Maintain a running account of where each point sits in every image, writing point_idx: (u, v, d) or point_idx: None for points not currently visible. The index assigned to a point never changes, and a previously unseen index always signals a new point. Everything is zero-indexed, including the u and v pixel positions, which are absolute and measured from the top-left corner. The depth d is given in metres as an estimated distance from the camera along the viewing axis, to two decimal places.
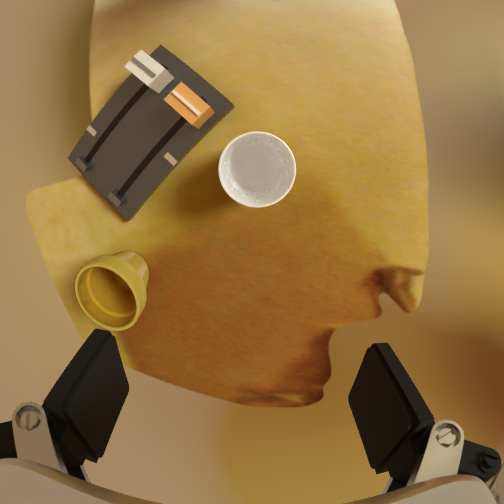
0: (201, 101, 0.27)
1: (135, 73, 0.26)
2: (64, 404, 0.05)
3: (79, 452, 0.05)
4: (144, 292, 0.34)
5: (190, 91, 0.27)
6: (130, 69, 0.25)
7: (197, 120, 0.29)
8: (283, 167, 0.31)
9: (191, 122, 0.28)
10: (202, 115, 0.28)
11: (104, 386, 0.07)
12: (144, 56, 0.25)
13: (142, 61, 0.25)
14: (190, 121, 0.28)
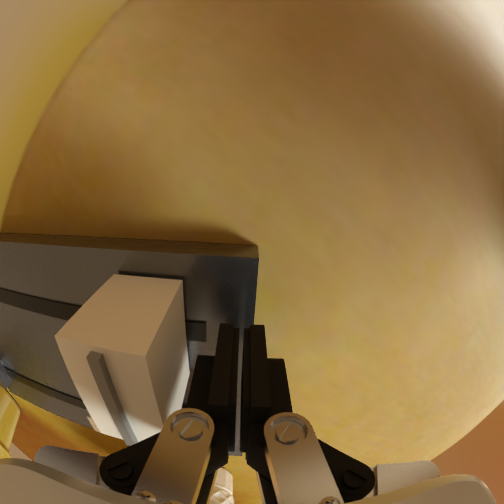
0: None
1: (81, 389, 0.07)
2: (230, 400, 0.06)
3: None
4: None
5: None
6: (70, 366, 0.06)
7: None
8: None
9: None
10: None
11: None
12: (139, 387, 0.06)
13: (121, 393, 0.06)
14: None
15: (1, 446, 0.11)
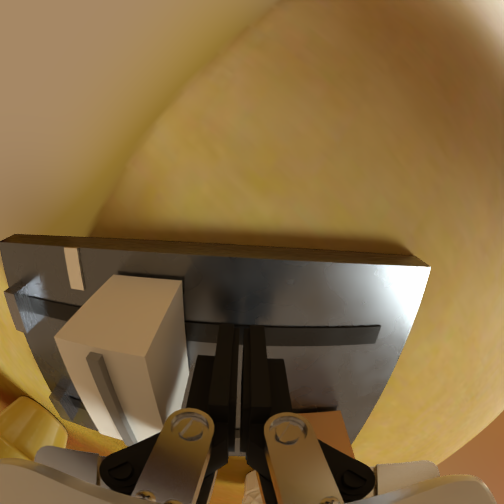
0: None
1: (80, 390, 0.07)
2: (230, 400, 0.06)
3: None
4: None
5: None
6: (69, 367, 0.06)
7: None
8: None
9: None
10: None
11: None
12: (138, 387, 0.06)
13: (120, 393, 0.06)
14: None
15: None
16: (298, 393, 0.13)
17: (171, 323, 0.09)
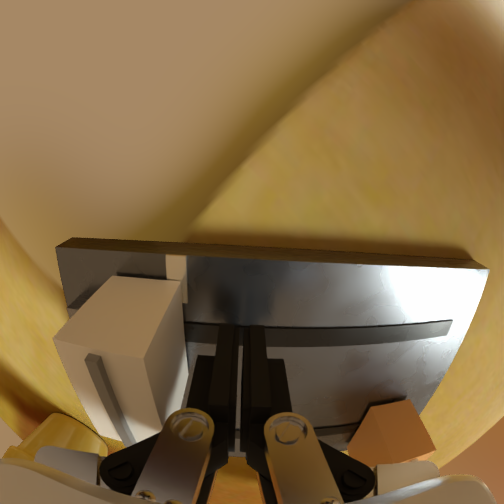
0: None
1: (79, 392, 0.07)
2: (230, 400, 0.06)
3: None
4: None
5: None
6: (68, 369, 0.06)
7: None
8: None
9: None
10: None
11: None
12: (137, 389, 0.06)
13: (119, 395, 0.06)
14: None
15: None
16: (382, 386, 0.13)
17: (170, 324, 0.09)
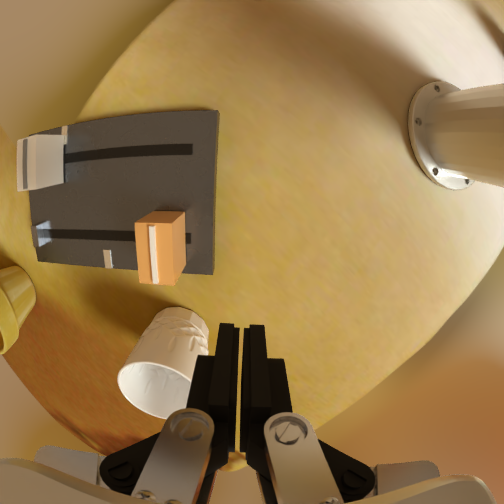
0: (170, 271, 0.20)
1: (17, 162, 0.17)
2: (230, 400, 0.06)
3: None
4: (15, 340, 0.22)
5: (170, 247, 0.20)
6: (17, 151, 0.16)
7: None
8: None
9: (141, 280, 0.21)
10: None
11: None
12: (33, 149, 0.17)
13: (28, 154, 0.17)
14: (141, 278, 0.21)
15: (14, 314, 0.22)
16: (155, 192, 0.23)
17: (52, 142, 0.19)
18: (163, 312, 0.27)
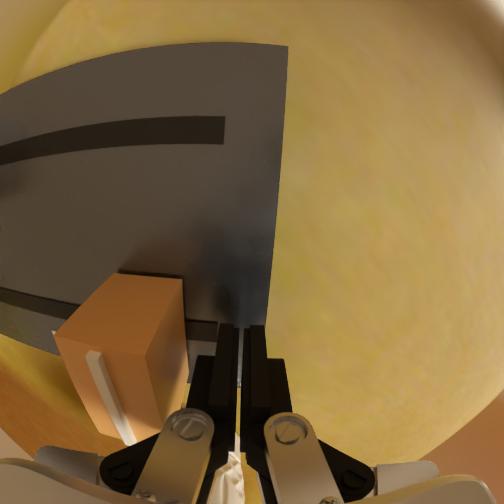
0: None
1: None
2: (230, 400, 0.06)
3: None
4: None
5: (149, 399, 0.07)
6: None
7: None
8: None
9: (101, 430, 0.07)
10: None
11: None
12: None
13: None
14: (100, 428, 0.07)
15: None
16: (134, 233, 0.10)
17: None
18: None
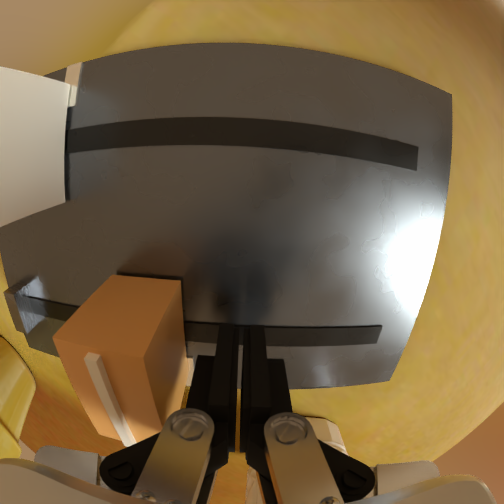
0: None
1: None
2: (230, 400, 0.06)
3: None
4: None
5: (148, 401, 0.07)
6: None
7: None
8: None
9: (101, 432, 0.07)
10: None
11: None
12: None
13: None
14: (100, 430, 0.07)
15: (8, 434, 0.09)
16: (330, 246, 0.10)
17: (40, 95, 0.06)
18: None
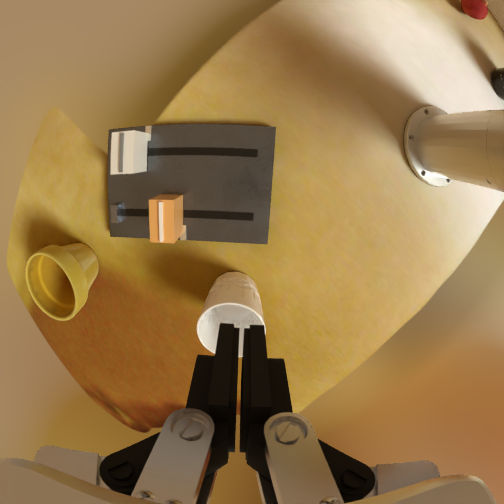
0: (172, 232, 0.30)
1: (112, 150, 0.27)
2: (230, 400, 0.06)
3: None
4: (82, 306, 0.32)
5: (172, 216, 0.29)
6: (112, 141, 0.26)
7: None
8: (250, 324, 0.36)
9: (151, 240, 0.30)
10: None
11: None
12: (130, 141, 0.26)
13: (125, 145, 0.26)
14: (151, 238, 0.30)
15: (86, 282, 0.31)
16: (228, 182, 0.33)
17: (142, 137, 0.29)
18: (224, 275, 0.37)
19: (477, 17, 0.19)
